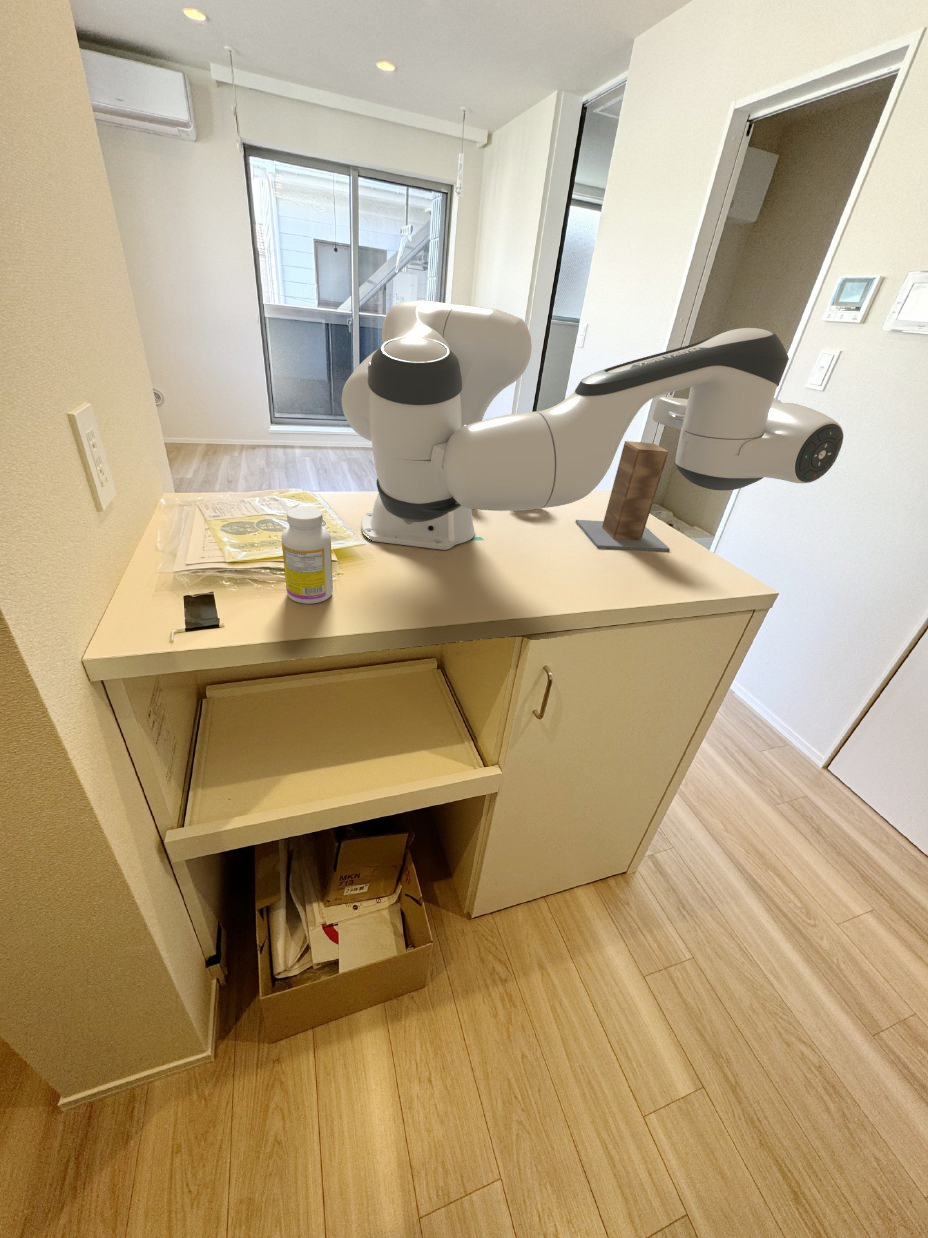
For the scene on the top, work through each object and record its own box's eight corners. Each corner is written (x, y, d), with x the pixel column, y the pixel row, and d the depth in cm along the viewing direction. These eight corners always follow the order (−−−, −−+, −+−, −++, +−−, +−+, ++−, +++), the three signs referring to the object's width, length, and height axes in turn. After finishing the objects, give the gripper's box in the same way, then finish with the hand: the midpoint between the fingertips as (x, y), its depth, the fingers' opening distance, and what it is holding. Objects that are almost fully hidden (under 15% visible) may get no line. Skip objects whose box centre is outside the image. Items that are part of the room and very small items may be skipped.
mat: (597, 547, 103) (597, 545, 103) (575, 522, 115) (576, 519, 115) (668, 551, 106) (669, 548, 106) (640, 525, 118) (641, 523, 117)
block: (612, 538, 107) (638, 448, 97) (602, 527, 112) (624, 440, 103) (640, 540, 108) (668, 451, 98) (628, 528, 113) (654, 443, 104)
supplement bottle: (305, 579, 79) (299, 500, 73) (341, 590, 78) (339, 510, 71) (276, 598, 74) (268, 514, 67) (315, 610, 72) (310, 525, 66)
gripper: (671, 442, 74) (632, 422, 85) (794, 453, 77) (740, 432, 89) (686, 395, 71) (643, 381, 82) (813, 409, 74) (755, 393, 86)
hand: (695, 407), depth 86 cm, fingers open, 8 cm apart
